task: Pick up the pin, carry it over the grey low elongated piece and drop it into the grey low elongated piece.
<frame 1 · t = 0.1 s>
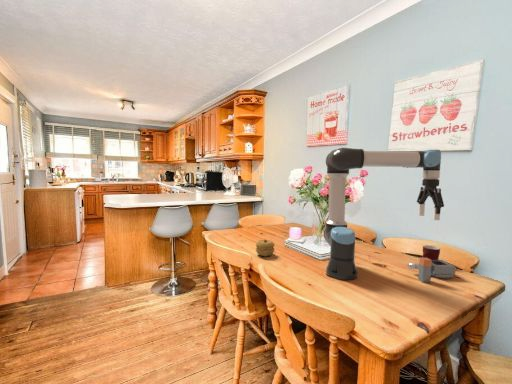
hand: (428, 217, 139), 28 cm above the table, fingers open, 13 cm apart
grey low elongated piece: (437, 274, 132), on the table
pot: (264, 255, 160), on the table
pin: (424, 281, 123), on the table
mug: (429, 265, 145), on the table
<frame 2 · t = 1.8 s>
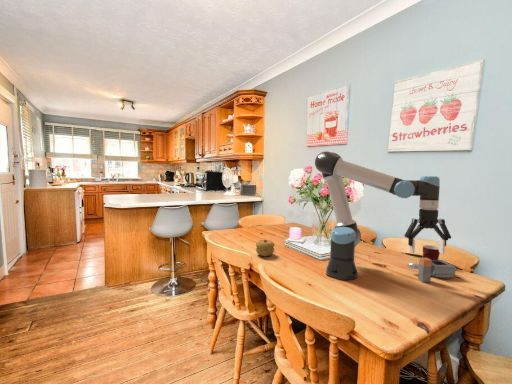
hand: (426, 252, 122), 14 cm above the table, fingers open, 13 cm apart
nothing on the table moved.
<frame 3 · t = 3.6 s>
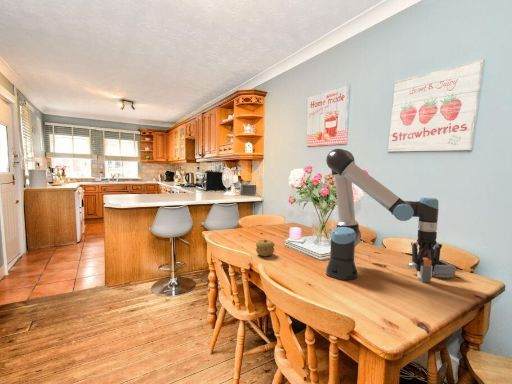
hand: (424, 277, 123), 2 cm above the table, fingers closed on pin, 4 cm apart
pin: (424, 280, 123), on the table, touching gripper
everything else where it was.
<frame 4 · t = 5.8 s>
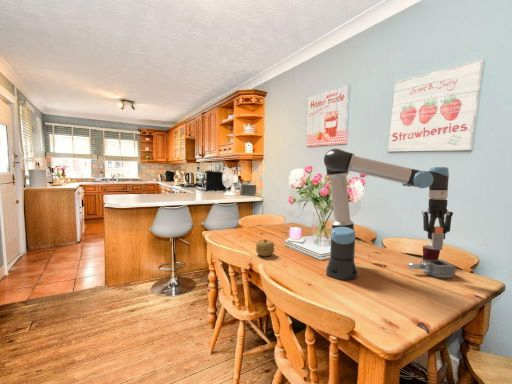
hand: (435, 245, 126), 16 cm above the table, fingers closed on pin, 4 cm apart
pin: (435, 248, 126), point 15 cm above the table, touching gripper
everything else where it was.
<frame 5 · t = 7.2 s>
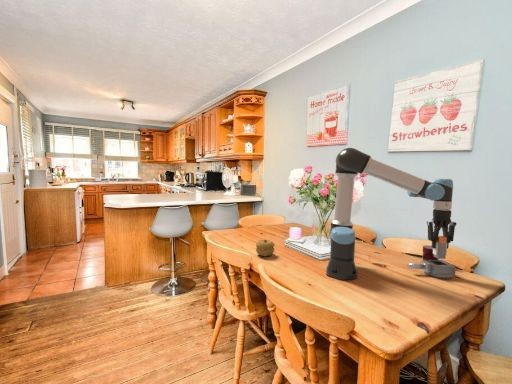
hand: (439, 254, 131), 11 cm above the table, fingers closed on pin, 4 cm apart
pin: (439, 257, 131), point 9 cm above the table, touching gripper
everything else where it was.
when the fingers open (7 cm above the table, at t = 8.0 s): pin drops 3 cm, resting on grey low elongated piece.
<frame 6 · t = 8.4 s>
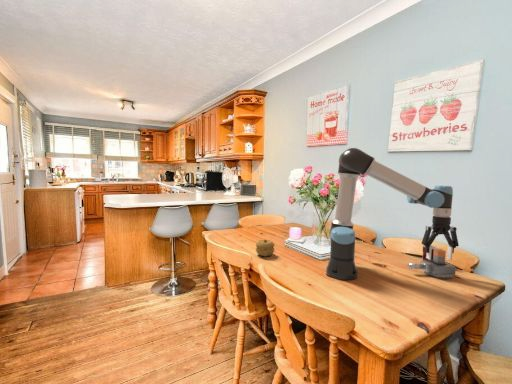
hand: (438, 259, 131), 8 cm above the table, fingers open, 9 cm apart
pin: (438, 270, 131), point 2 cm above the table, touching grey low elongated piece
everything else where it was.
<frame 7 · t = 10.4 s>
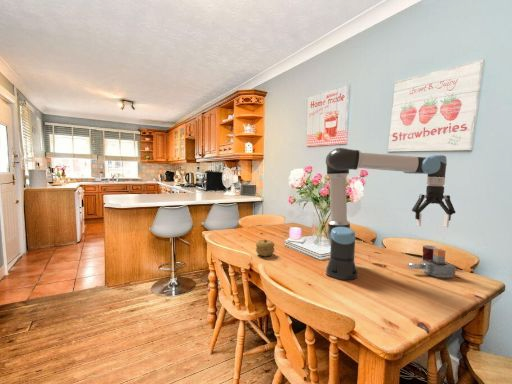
hand: (432, 226, 133), 25 cm above the table, fingers open, 13 cm apart
nothing on the table moved.
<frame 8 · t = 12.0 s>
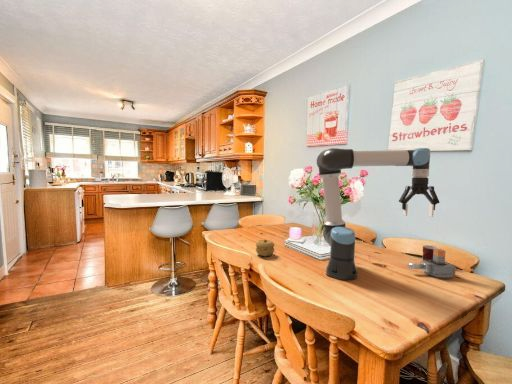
hand: (418, 215, 140), 29 cm above the table, fingers open, 13 cm apart
nothing on the table moved.
at the end: pin 0.0 cm off-centre on the grey low elongated piece, point 2.0 cm above the grey low elongated piece's base; pin tilted 0°; the gripper is holding nothing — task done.
